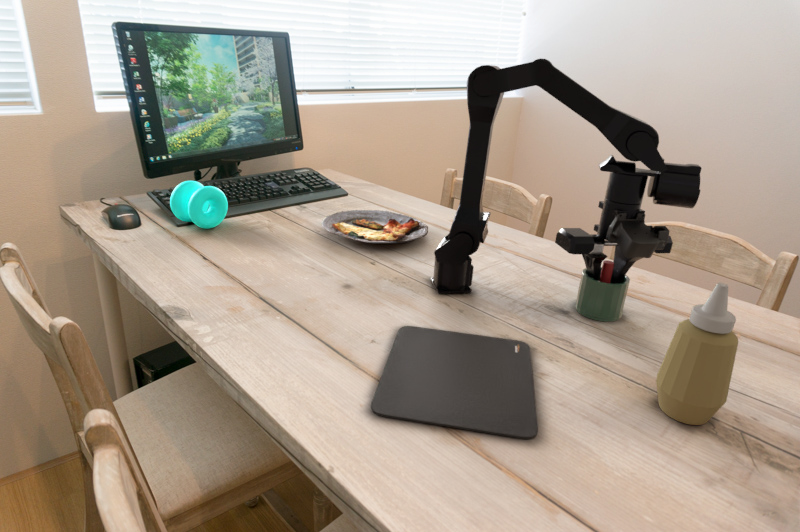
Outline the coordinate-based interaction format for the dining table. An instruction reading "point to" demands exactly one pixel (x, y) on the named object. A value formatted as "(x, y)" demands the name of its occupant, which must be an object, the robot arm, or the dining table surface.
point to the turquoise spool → (199, 204)
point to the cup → (601, 298)
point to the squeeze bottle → (699, 362)
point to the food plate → (375, 226)
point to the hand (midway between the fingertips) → (603, 286)
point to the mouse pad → (459, 382)
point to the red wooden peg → (606, 271)
